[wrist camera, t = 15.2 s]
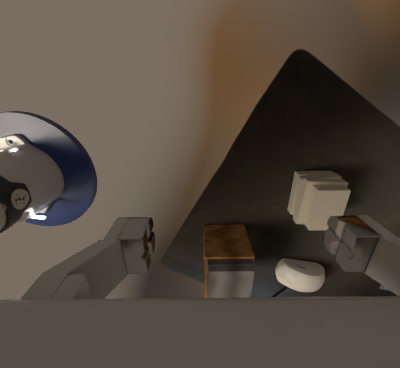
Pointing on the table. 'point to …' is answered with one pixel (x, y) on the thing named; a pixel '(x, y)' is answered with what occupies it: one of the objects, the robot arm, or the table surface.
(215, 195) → the table surface
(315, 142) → the table surface
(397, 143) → the table surface
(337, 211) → the beige flat block
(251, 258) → the oak stand
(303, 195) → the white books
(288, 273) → the computer mouse
